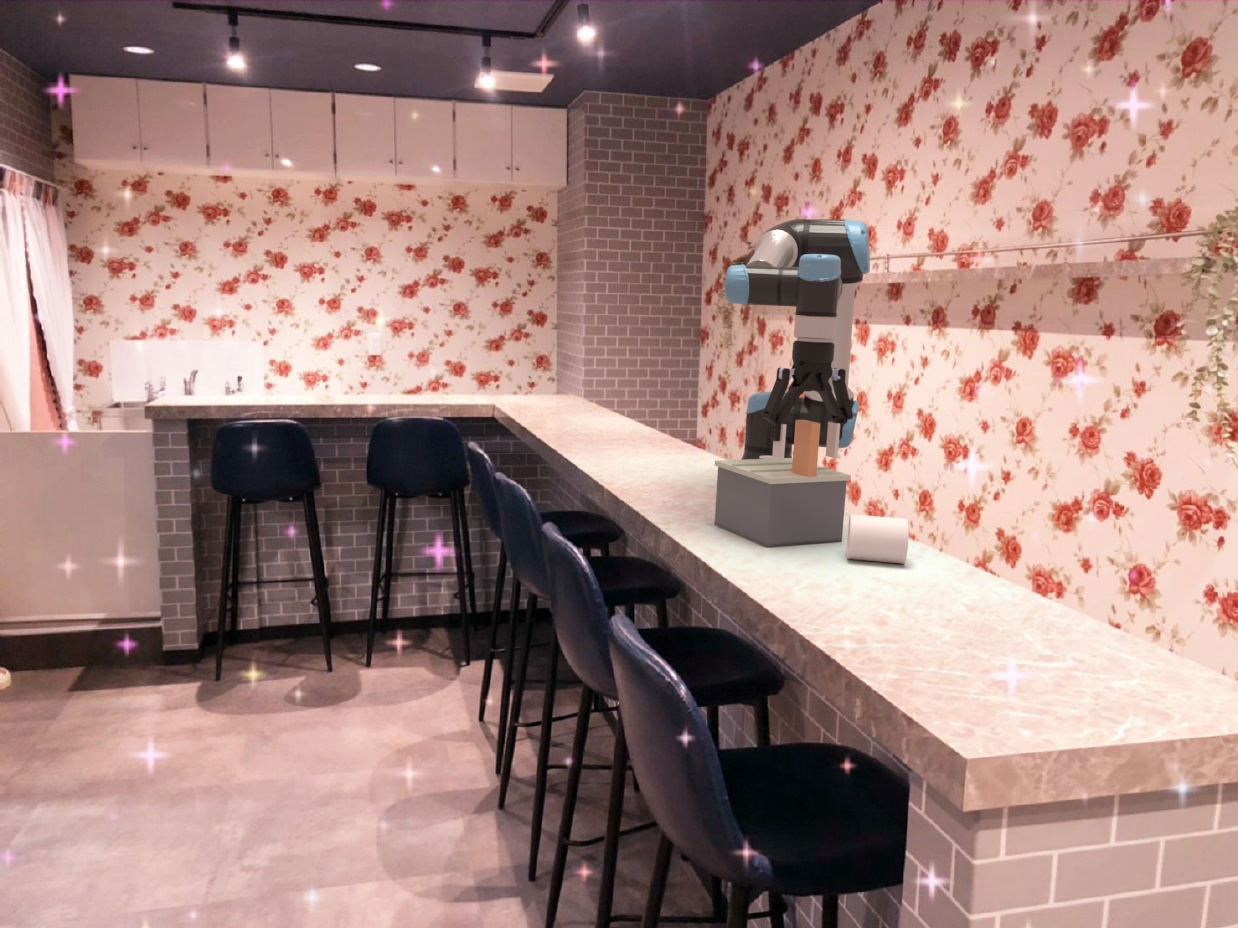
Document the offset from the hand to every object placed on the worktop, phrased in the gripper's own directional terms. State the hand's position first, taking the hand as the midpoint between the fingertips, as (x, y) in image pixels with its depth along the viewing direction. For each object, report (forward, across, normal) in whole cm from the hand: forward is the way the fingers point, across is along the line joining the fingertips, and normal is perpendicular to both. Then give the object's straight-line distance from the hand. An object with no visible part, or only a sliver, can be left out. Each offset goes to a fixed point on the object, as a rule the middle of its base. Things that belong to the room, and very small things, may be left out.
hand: (805, 457), depth 185 cm
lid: (+5, 0, -7) cm, 9 cm away
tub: (+16, 0, -8) cm, 18 cm away
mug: (+17, -7, +14) cm, 22 cm away
